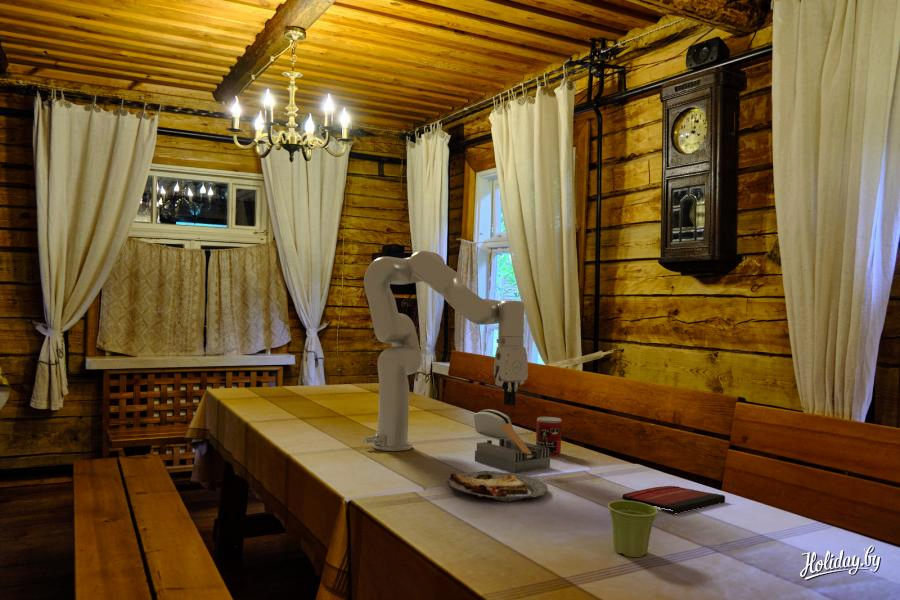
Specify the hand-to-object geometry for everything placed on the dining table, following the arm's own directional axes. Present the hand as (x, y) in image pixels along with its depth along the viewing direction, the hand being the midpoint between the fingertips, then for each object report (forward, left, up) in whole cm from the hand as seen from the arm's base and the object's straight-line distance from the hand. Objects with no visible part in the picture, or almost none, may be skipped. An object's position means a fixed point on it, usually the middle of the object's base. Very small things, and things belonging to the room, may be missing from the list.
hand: (509, 404), depth 207 cm
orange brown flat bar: (0, -3, -10) cm, 10 cm away
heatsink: (0, -2, -17) cm, 17 cm away
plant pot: (-30, -67, -17) cm, 75 cm away
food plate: (-23, -21, -18) cm, 36 cm away
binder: (+9, -50, -18) cm, 53 cm away
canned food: (+20, +2, -17) cm, 26 cm away
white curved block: (+25, +33, -17) cm, 45 cm away
